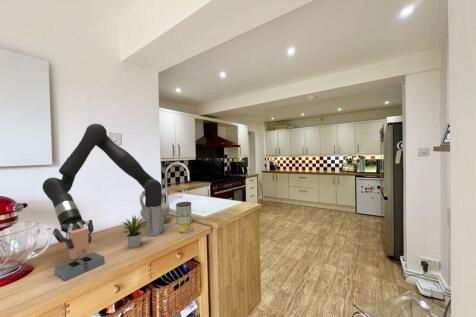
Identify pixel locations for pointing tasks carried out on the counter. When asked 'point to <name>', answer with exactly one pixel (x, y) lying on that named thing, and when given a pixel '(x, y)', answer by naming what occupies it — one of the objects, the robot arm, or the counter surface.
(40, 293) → the counter surface
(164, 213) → the ceramic pitcher
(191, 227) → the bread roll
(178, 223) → the coffee can
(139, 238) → the house plant
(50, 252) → the counter surface
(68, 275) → the grey socket block
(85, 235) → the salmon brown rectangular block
